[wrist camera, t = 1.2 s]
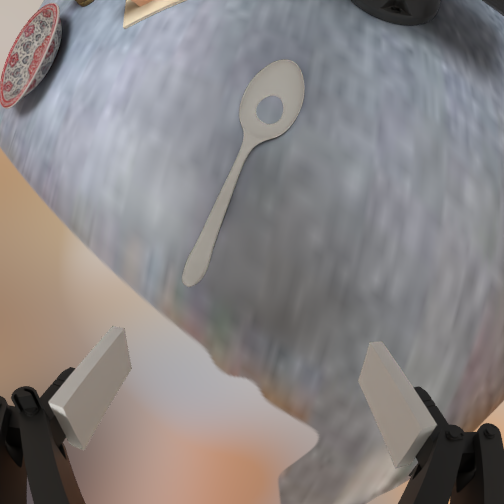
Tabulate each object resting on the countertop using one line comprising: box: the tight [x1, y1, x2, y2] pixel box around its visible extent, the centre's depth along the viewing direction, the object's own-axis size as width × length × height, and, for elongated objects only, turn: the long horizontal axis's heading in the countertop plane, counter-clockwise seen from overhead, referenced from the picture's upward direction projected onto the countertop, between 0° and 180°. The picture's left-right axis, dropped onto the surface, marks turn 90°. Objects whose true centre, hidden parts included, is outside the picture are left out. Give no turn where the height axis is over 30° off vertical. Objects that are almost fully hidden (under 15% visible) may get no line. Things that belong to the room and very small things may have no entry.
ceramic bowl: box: [0, 3, 62, 109], centre depth 41 cm, size 29×29×8 cm
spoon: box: [182, 59, 304, 287], centre depth 37 cm, size 35×8×3 cm, turn 153°
